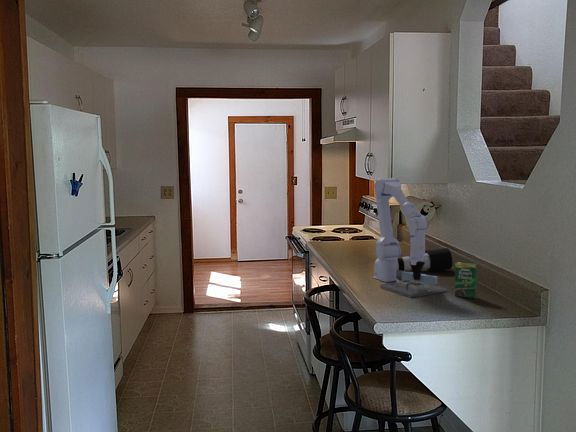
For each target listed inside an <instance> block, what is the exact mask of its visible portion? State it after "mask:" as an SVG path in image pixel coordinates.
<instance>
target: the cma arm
mask: <svg viewBox="0 0 576 432" xmlns="http://www.w3.org/2000/svg"><path fill="white" fill-rule="evenodd" d="M396 278H397V279H403V280H404V281H405V280H412V281H418V282H424V283H430V284H433V285H437V284H438V276H437V275H431V274H425V273H421V277H420V280H414V278H413V271H401V270H397V271H396Z"/></svg>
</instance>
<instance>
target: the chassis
mask: <svg viewBox="0 0 576 432" xmlns="http://www.w3.org/2000/svg"><path fill="white" fill-rule="evenodd" d="M379 286H380V288H381V289H384V290H387V291H390V292H392V293H396V294H398V295H401V296H404V297H408V298H409V299H410V298H411V299H412V298H417V297H423V296H427V295H433V294H440V293H444V292H447V290H448V289H447V287H446V288H445V287H443V286H441V285H440V286H439V285H437V284H430V283H424V282H418V281H412V280H405V279H397V281H392V282H386V283H382V284H380V285H379Z"/></svg>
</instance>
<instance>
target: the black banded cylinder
mask: <svg viewBox="0 0 576 432" xmlns="http://www.w3.org/2000/svg"><path fill="white" fill-rule="evenodd" d="M425 257H427V258H428V259H427V260H422V261H421V262H425V264H424V266H423V268H422V270H426V271H428V272H430V273H432V272H438V271H439V272H440V271H444V270H445V271H446V270H451V269H452V267H453V262H454V261H453V256H452V252H451V250H450V249H449V248H448V247H445V248H443V247H442V248H435V249H427V250H426V249H425ZM410 262H411V260H410V255H407V256H400V257H398V259H397V260H396V271H397V270H401V271H406V272H413V271H412V268H411V266H410Z"/></svg>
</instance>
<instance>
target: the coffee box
mask: <svg viewBox="0 0 576 432" xmlns="http://www.w3.org/2000/svg"><path fill="white" fill-rule="evenodd" d="M454 267H455V268H454V297H459V296H460V297H461V298H469V299H476V298H477V292H478V291H477V289H478V286H477V285H478V284H477V283H478V263H470V262H469V263H468V262H458V261H456V262H455V263H454Z"/></svg>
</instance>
